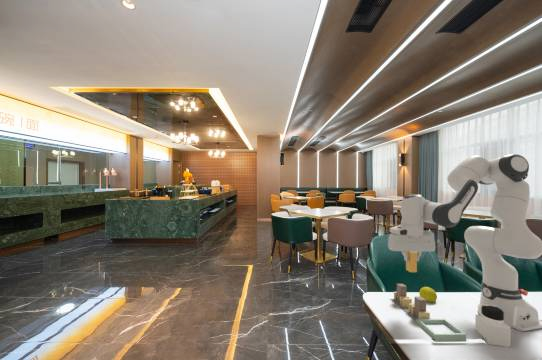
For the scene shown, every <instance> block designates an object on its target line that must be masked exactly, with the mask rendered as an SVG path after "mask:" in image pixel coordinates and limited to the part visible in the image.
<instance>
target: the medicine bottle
mask: <svg viewBox="0 0 542 360" xmlns="http://www.w3.org/2000/svg"><path fill="white" fill-rule="evenodd" d="M474 317H475V319H474V320H475V324H474V325H475V327H474V329H475V331H476V332H477V333H478V334H479V335H480V336H482V337H483V338H481V339H482V340H483V341H484V342H485V343H486V344H487V345H492V346H500V347H506V348H511V342H512V341H511V337H512V336H511V335H512V330H511V328H512V327H509V326H508V325H507V324H505V323H504V312H503V311H502V310H501V309H499V308H498V307H495V306H492V305H482V314H481V315H480V314H475V315H474Z"/></svg>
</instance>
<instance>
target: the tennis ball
mask: <svg viewBox="0 0 542 360" xmlns="http://www.w3.org/2000/svg"><path fill="white" fill-rule="evenodd" d="M418 294H419V297H423V298H424V299H425V300H426V303H427V302H428V303H435V302H436V301H437V299H438V295H437V293H436V291H435V289H433V288H431V287H429V286H423V287H421V288H420V290H419V293H418Z"/></svg>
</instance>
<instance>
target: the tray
mask: <svg viewBox="0 0 542 360" xmlns="http://www.w3.org/2000/svg"><path fill="white" fill-rule="evenodd" d="M415 323H416V324H418V325H419V326H420V327H421V328H422V329H424V330H425V331H426V332H427V333H428V334H429V335H430V336H432V338H431V340H432V341H434V342H435V343H436V342H437V343H438V342H439V343H440V342H441V343H446V342H447V343H448V342H449V343H451V342H453V343H454V342H458V343H460V342H461V343H463V342H464V343H465V342H467V334H466V333H465V332H464V331H462V330H461V329H460V328H458V327H457V326H455V325H454V324H453V323H451V322H450V321H449V320H447V319H446V318H431V319H417V320H416V322H415ZM427 324H441V325H442V324H444V325H446V326H447V327H448V328H450V329H451V330H452V331H454V332H455V333H454V332H440V333H439V332H434V331H433V330H432V329H431V328H430V327H429V326H427Z"/></svg>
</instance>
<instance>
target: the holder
mask: <svg viewBox="0 0 542 360" xmlns="http://www.w3.org/2000/svg"><path fill="white" fill-rule="evenodd" d="M407 289H408V287H407V285H406V284H404V283H396V291H394V292H393V298H389V300H390V301H392V303H394V304H395V305H396V306H397V307H398V308H399V309H401V310H402V311H403V312H404V313H405V314H406V315H407V316H408V317H409V318H411V319H412V320H413V321H414V322H415V323H417V322H416V320H417V319H432V318H431V316H430V315H431V313H430V312H429V311H427V301H426V300H425V299H424V298H423V297H420V296H414V302H413V299H412V298H410V297H409V295H408V294H407ZM407 295H408V296H407Z"/></svg>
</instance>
